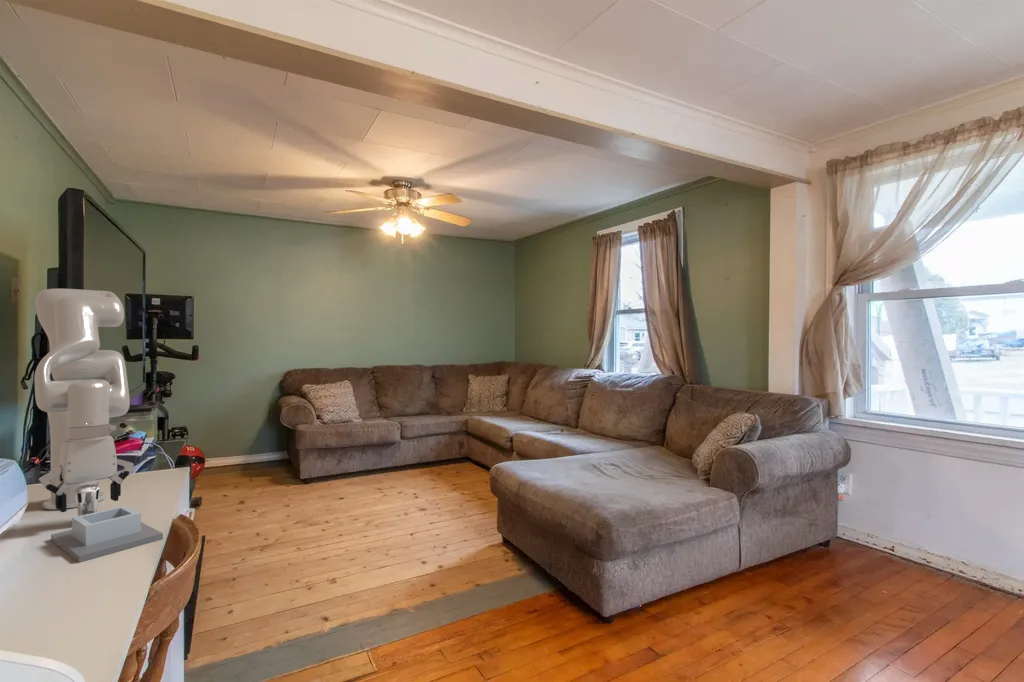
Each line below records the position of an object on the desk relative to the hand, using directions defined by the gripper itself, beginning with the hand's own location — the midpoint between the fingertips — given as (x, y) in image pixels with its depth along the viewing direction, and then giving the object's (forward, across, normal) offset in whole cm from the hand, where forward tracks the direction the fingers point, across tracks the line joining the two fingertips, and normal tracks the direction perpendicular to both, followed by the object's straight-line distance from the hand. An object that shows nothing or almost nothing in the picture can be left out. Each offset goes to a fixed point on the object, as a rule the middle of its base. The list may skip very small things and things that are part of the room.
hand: (89, 505), depth 117 cm
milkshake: (+5, 0, 0) cm, 5 cm away
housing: (+5, +1, +16) cm, 16 cm away
